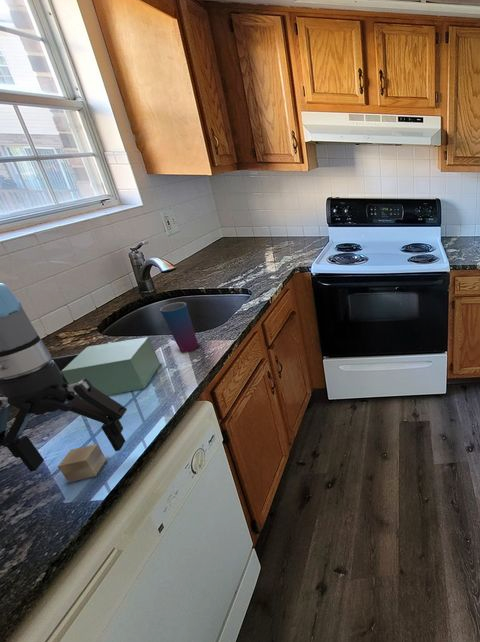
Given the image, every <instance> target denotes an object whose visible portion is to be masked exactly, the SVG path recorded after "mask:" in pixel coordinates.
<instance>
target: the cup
mask: <svg viewBox="0 0 480 642" xmlns="http://www.w3.org/2000/svg"><path fill="white" fill-rule="evenodd" d="M159 311H160V313H161V315H162V317H163V319H164V322H165V323H166V325H167V327H168V329H169V331H170V333H171V335H172V337H173V340H174V341H175V343H176V345H177V347H178V350H179V351H180V352H181V353H187V352H191V351H194V350H196V349H198V347H199V343H198V339H197V336H196V332H195V329H194V326H193V323H192V319H191V315H190V312H189V309H188V305H187V303H186V302H184V301H176V302H171V303H168V304H165V305H163V306H162V307H160V308H159Z"/></svg>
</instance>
